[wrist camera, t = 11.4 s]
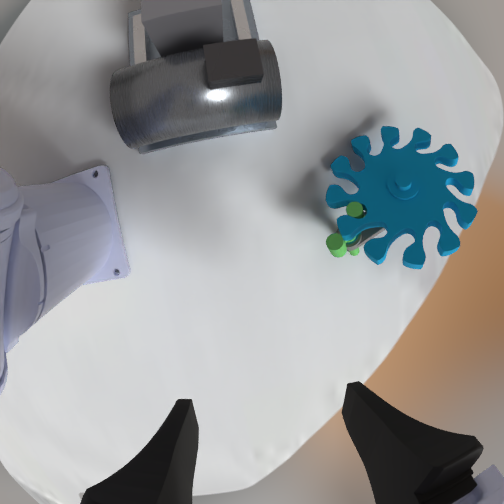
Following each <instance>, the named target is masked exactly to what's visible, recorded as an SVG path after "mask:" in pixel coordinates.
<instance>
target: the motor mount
mask: <svg viewBox="0 0 504 504" xmlns="http://www.w3.org/2000/svg"><path fill="white" fill-rule="evenodd" d="M221 1H222V16H223V42H219V43H213V44H207V45H203V48H199V49H194V50H189V51H184V52H180V53H175V54H171V55H167V56H163V57H161V56H160V54H159V52H158V50H157V49H156V47H155V45H154V43H153V42H152V40H151V38H150V36H149V34H148V33H147V31H146V29H145V27H144V26H143V24H142V22H141V9H139V10H136V11H133V12H130V13H128V29H129V56H130V66H129V67H125V68H122V69H119V70H117V71H115V72H114V73H113V75H112V78H111V83H110V101H111V108H112V113H113V117H114V121H115V124H116V127H117V129H118V132H119V134H120V136H121V138H122V140H123V141H124V143H125V144H126V145H127V146H128V147H129V148H132V149H133V148H137V147H139V153H140V154H145V153H149V152H153V151H157V150H161V149H165V148H169V147H174V146H178V145H183V144H187V143H192V142H197V141H202V140H207V139H212V138H218V137H223V136H229V135H235V134H242V133H248V132H255V131H263V130H270V129H276V128H277V125H276V121H277V120H279V118H280V115H281V109H282V89H281V79H280V72H279V67H278V62H277V58H276V55H275V52H274V49H273V47H272V45H271V43H270V42H269V41H268V40H259V37H258V32H257V28H256V24H255V19H254V15H253V11H252V7H251V3H250V0H221Z"/></svg>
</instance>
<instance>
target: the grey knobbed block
mask: <svg viewBox="0 0 504 504" xmlns="http://www.w3.org/2000/svg"><path fill="white" fill-rule="evenodd" d="M141 22H142V24H143V26H144V27H145V29H146V31H147V33H148V34H149V36H150V38H151V40H152V42H153V43H154V45H155V47H156V49H157V50H158V52H159V54H160V56H161V57H163V56H167V55H171V54H175V53H180V52H184V51H189V50H194V49H199V48H203V45H207V44H213V43H219V42H223V16H222V1H221V0H141Z"/></svg>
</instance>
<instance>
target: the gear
mask: <svg viewBox="0 0 504 504" xmlns="http://www.w3.org/2000/svg"><path fill="white" fill-rule="evenodd" d="M381 135H382V141H383V142H384V146H383V149H382V151H381V153H380V154H379V155H376V156H373V155H370V154H369V153H370V151H371V145H370V140H369V138H368V137H367V136H366V135H364V136H359V137H357V138H354V139H352V140H351V143H352V147H353V151H354V152H355V153H356V154H357V155H359V156H360V157H361V158H362V159H363V161H364V163H365V168H364V169H363V170H362V171H359V172H355V171H353V170H352V169H351V166H350V163H349V160H348V158H347V157H345V156H342V155H341V156H339V157H338V158H337V159H336V160H335V161H334V162H333V163H332V164H331V169H332V171H333V174H334V175H335V176H336V177H338V178H344V179H347V180H349V181H351V182H353V183H354V184H355V185H356V186H357V187H358V188H359V191H358V192H357V193H355V194H347V193H346V192H345V191H344V190H343V189H342V188H341V187H340V186H339V185H335V184H334V185H330V186H329V188H328V190H327V193H326V202H327V204H328V206H329V207H330V208H334V209H336V208H340V207H344V206H347V207H346V212H347V215H343V216H340V217H339V218H338V219H337V225H338V228H339V229H338V230H337V233H334V234H331V235H330V236H328V238H327V240H326V245H327V247H328V249H329V250H330V252H331V254H332V255H333V256H334V257H342V256H344V255H345V253H346V251H349V252H350V254H351V255H353V256H356V255H357V254H358V253H359V248H358V247H360V246H361V245H363V244H364V243H365V245H364V251H365V254H366V255H367V256H368V258H369V259H371V260H372V261H373V262H374V263H376V264H377V265H379V264H381V263H382V262H383V261H384V260H385V258H386V254H387V251H388V249H389V247H390V245H391V244H392V243H393V242H394V241H395V240H396V239H397V238H398V237H400V236H401V235H403V234H407V233H408V234H411V235H412V236H413V237H414V239H415V242H414V243H413V244H411V245H410V246H409V247H407V248H406V250H405V251H404V254H403V265H404V266H406V267H409V268H413V269H421V268H422V267H423V264H424V262H425V258H426V256H425V252H424V249H423V235H424V232H425V230H426V229H427V228H428V227H430V226H434V227H436V228H437V229H438V230H439V231H440V239H439V242H438V245H437V249H438V252H439V254H440V255H441V256H447V255H450V254H452V253H454V252H456V251H457V250H458V248H459V247H460V241H459V238H458V236H457V235H456V234H455V233H454V232H453V231H452V230H451V229H450V228H449V226H448V224H447V222H446V220H445V216H444V212H443V209H444V208H451V209H452V210H453V211H454V212H455V214H456V218H457V222H458V224H459V225H460V227H462V228H463V229H467V228H468V227H469V226H470V225H471V224H472V222H473V220H474V218H475V216H476V214H477V209H476V208H475V207H474V206H473V205H471V204H468V203H465V202H462V201H461V200H459V199H457V198H456V197H455V196H454V195H453V194H452V193H451V192H450V191H449V190H448V189H447V187H446V185H453V186H455V187H456V188H457V189H458V190H459V192H460V193H462V194H463V195H466V196H470V195H471V193H472V190H473V188H474V176H473V174H472V173H471V172H469V171H463V172H459V173H453V172H448V171H445V170H443V169H440V168H438V167H437V166H436V164H439V163H440V164H443V165H446V166H449V167H453V166H455V165H456V164H457V161H458V154H457V152H456V150H455V149H454V147H453V146H452V145H451V144H445V145H443V146H442V148H441V149H439V150H438V151H436V152H434V153H428V154H420V153H418V152H416V150H419V149H427V148H428V147H429V146H430V143H431V135H430V134H429V133H428V132H426V131H424V130H422V129H420V128H416V129H415V130H414V131H413V137H412V140H411V141H410V142H409V144H407V145H406V146H405V147H403V148H401V149H394V148H392V147H393V146H394V145H396V144H397V143H398V142H399V129H398V128H396V127H390V126H383V127H382V128H381ZM363 210H365V211H366V212H364V211H363ZM385 229H386V230H387V234H386V235H385V236H384V237H382V238H374V239H372V238H373V237H375V236H376V235H378V234H379V233H381V232H382V231H383V230H385Z"/></svg>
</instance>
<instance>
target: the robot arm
mask: <svg viewBox="0 0 504 504" xmlns="http://www.w3.org/2000/svg"><path fill="white" fill-rule="evenodd" d="M95 171H98V176H97V177H95V176H94V173H95ZM115 269H118V270H119V271H120V274H117V273H116V272H115ZM129 274H130V266H129V262H128V258H127V254H126V250H125V246H124V242H123V238H122V234H121V229H120V225H119V220H118V216H117V211H116V206H115V200H114V195H113V190H112V184H111V178H110V172H109V168H108V167H107V166H105V165H99V166H96V167H93V168H90V169H87V170H84V171H81V172H79V173H76V174H73V175H70V176H67V177H65V178H62V179H59V180H57V181H54V182H52V183H49V184H37V185H25V186H17V185H16V183H15V181H14V179H13V177H12V176H11V175H10V174H9V173H8V172H7V171H6V170H4V169H3V168H1V167H0V395H1V393H2V391H3V390H4V387H5V384H6V381H7V375H8V367H7V359H6V353H7V352H9V351H10V350H11V349H12V348H13V347H14V346H15V345H16V344H17V343H18V342H19V336H20V335H22V334H23V333H24V332H26V331H27V330H28V329H29V328H30V327H31V326H32V325H33V324H35V323H36V322H37V321H38V320H39V319H41V318H42V317H43V316H44V315H45V314H47V313H48V312H49V311H50V310H51V309H53V308H54V307H55V306H56V305H57V304H59V303H60V302H61V301H62V300H64V299H65V298H66V297H67V296H69V295H70V294H71V293H72V292H74V291H75V290H76V289H77V288H79V287H80V286H81V285H85V284H91V283H97V282H103V281H108V280H114V279H120V278H125V277H127V276H128V275H129ZM342 415H343V419H344V422H345V425H346V428H347V430H348V432H349V435H350V437H351V439H352V441H353V443H354V445H355V447H356V449H357V451H358V453H359V455H360V457H361V459H362V461H363V463H364V466H365V468H366V471H367V474H368V477H369V480H370V484H371V487H372V491H373V494H374V498H375V502H376V504H504V477H503V475H502V474H501V473H500V471H499V470H498V469H497V467H496V466H495V465H491V466H490V467H489V468H487V469H486V470H484V471H483V472H482V473H480V474H479V475H478V476H476V477H475V478H474V479H473V477H472V476H471V475H472V474H473V470H472V469H471V467H472V466H473V464H474V463H475V462H476V461H477V459H478V458H479V457H480V455H481V454H482V451H483V446H482V445H481V443H480V442H479V441H478V440H477V439H476V437H475V436H470V435H463V434H457V433H452V432H448V431H444V430H440V429H437V428H434V427H432V426H429V425H426V424H424V423H422V422H419V421H417V420H415V419H413V418H411V417H409V416H407V415H406V414H404V413H402V412H401V411H399V410H397V409H396V408H394V407H393V406H391V405H390V404H388V403H387V402H385V401H384V400H383V399H381V398H380V397H379V396H377V395H376V394H375V393H374V392H372V391H371V390H369V389H368V388H367V387H366V386H365V385H363V384H362V383H361V382H359V381H358V382H353V383H348V384H347V388H346V394H345V399H344V404H343V409H342ZM198 438H199V427H198V423H197V419H196V415H195V411H194V407H193V403H192V399H178V400H177V401H176V403H175V405H174V407H173V408H172V410H171V412H170V413H169V415H168V417H167V418H166V420H165V421H164V423H163V424H162V426H161V427H160V428H159V430H158V431H157V433H156V434H155V435H154V436H153V438H152V439H151V440H150V441H149V443H148V444H147V445H146V446H145V447H144V448H143V449H142V450H141V451H140V452H139V453H138V454H137V455H136V456H135V457H134V458H133V459H132V460H131V461H130V462H129V463H127V464H126V465H125V466H124V467H123V468H121V469H120V470H119V471H117V472H116V473H114V474H113V475H111V476H110V477H108V478H107V479H105V480H103V481H102V482H100V483H98V484H96V485H94V486H92V487H90V488H88V489H86V491H85V493H84V495H83V498H82V500H81V503H80V504H192V487H193V478H194V472H195V465H196V458H197V451H198Z"/></svg>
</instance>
